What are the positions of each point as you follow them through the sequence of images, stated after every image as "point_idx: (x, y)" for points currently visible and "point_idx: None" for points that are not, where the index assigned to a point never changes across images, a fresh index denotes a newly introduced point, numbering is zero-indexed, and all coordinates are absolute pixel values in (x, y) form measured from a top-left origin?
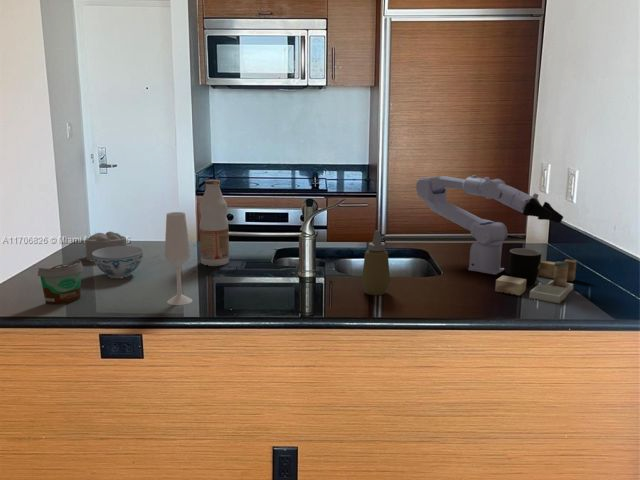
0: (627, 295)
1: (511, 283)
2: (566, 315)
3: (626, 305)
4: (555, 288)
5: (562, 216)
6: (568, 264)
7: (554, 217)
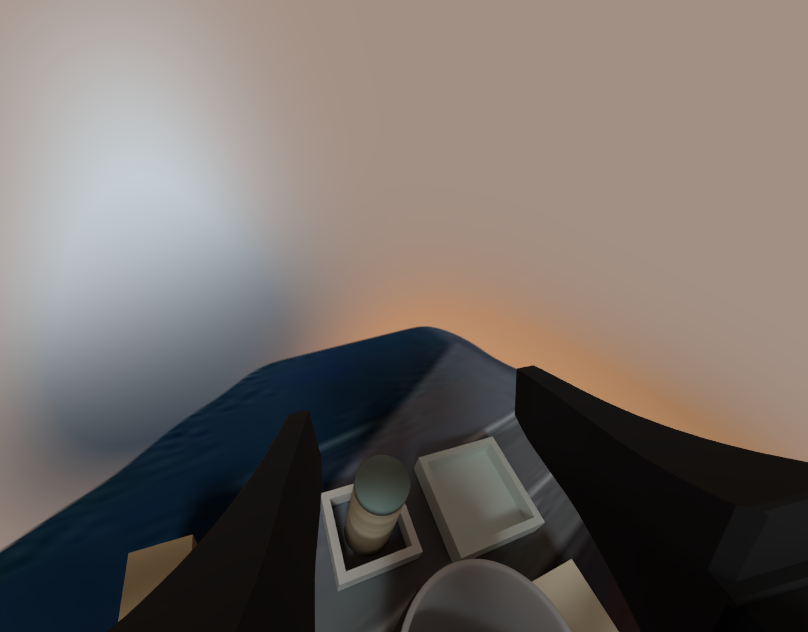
0: (263, 377)
1: (595, 600)
2: None
3: (352, 354)
4: (438, 490)
5: (307, 411)
6: None
7: (311, 494)
